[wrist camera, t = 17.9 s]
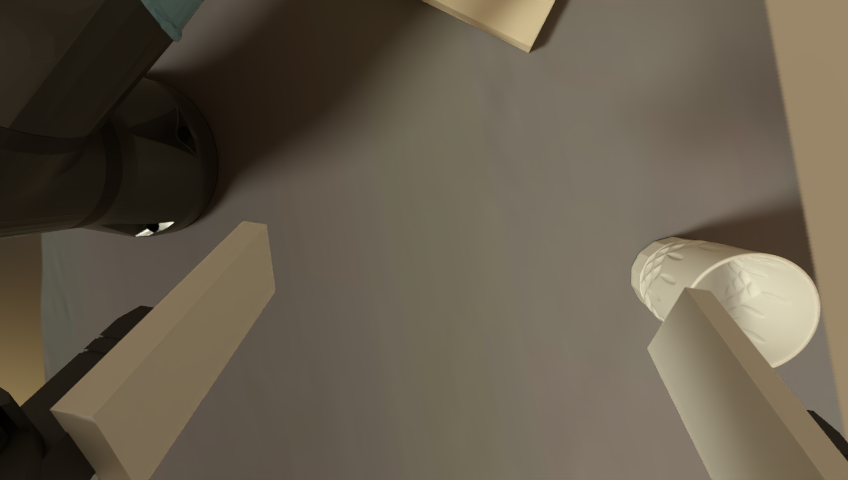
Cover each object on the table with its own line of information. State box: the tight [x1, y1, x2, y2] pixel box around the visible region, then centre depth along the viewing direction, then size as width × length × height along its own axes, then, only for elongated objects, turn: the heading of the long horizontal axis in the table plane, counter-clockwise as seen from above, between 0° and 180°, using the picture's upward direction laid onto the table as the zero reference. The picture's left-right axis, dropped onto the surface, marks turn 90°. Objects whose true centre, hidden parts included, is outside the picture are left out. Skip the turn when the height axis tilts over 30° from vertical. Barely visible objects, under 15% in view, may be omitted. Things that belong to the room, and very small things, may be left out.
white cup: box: [631, 237, 821, 368], centre depth 29 cm, size 8×8×10 cm
